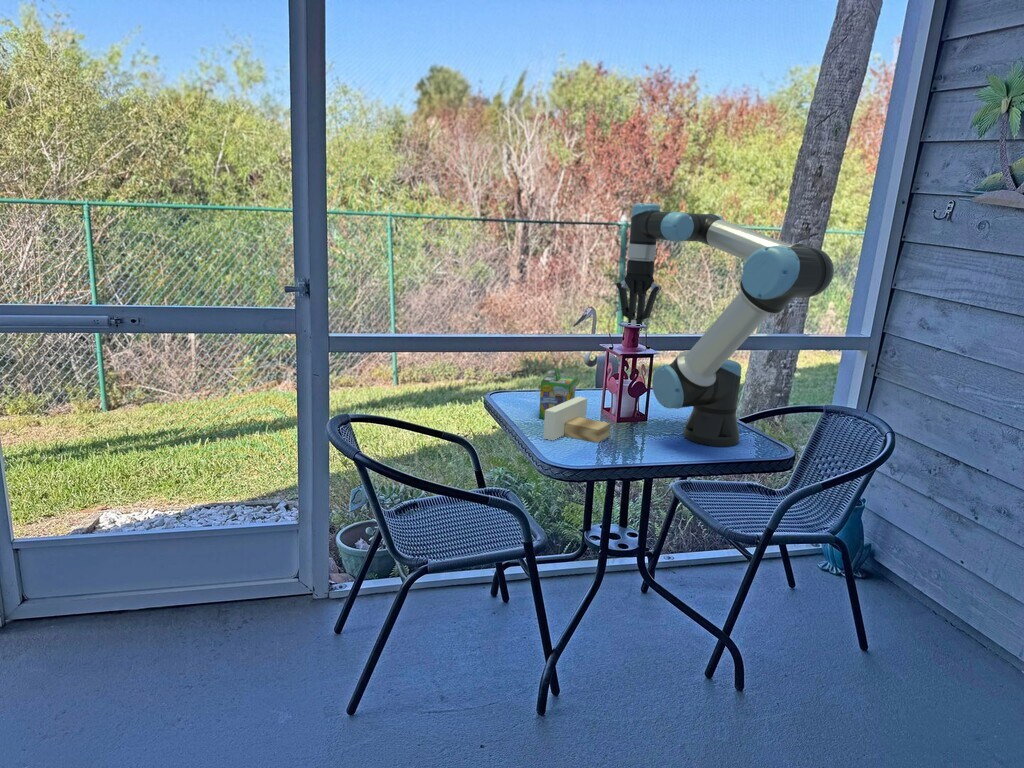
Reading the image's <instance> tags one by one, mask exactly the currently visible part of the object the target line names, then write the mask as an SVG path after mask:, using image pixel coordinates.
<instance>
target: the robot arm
mask: <svg viewBox="0 0 1024 768" xmlns="http://www.w3.org/2000/svg"><path fill="white" fill-rule="evenodd" d="M629 231H630V232H629V243H628V252H627V253H628V254H627V257H628V258H629V259H628V260H627V263H626V264H627V265H626V275H625V276H624V279H623V280H622V281H619V282H616V288H617V289H618V292H619V299H620V306H621V307H620V308H621V314H622V317H625V318H627V326H628V325H633V326H640V325H635V324H641V325H642V326H643V321H644V320H647V319H649V318H650V316H651V314H652V311H653V308H654V305H655V303H656V299H657V297H658V294H659V293H660V291H661V290H662V286H661V285H657V284H656V282H655V278H654V270H655V261H654V260H655V259H656V251H657V250H656V249H657V244H658V243H657V240H660V241H670V242H673V243H674V242H676V243H677V242H679V243H680V242H697V243H702V244H705V245H708V246H710V247H712V248H715V249H717V250H719V251H722V252H724V253H727V254H730V255H732V256H735V257H736V258H739V259H742V260H744V261H745V262H744V264H743V266H742V271H743V273H742V274H740V275H741V277H740V279H741V280H740V281H739V293H737V295H736V296H735V297H734V298H733V300H731V302H730V303H729V304H728V305H727V306H726V307H725V308H724V310H723V311H722V312H721V314H719V316H718V317H717V318H716V319H715V321H713V323H712V324H711V325H710V326H709V328H708V329H707V330H706V331H705V333H704V334H703V335H701V337H700V338H699V339H698V341H697V342H696V343H695V344H694V345H693V346H692V347H691V349H689V350H684V351H683V350H682V351H681V352H680V353H679V354H678V355H677V356H676V357H675V358H674V360H673V361H672V362H671V363H670V364H663V365H661V366H658V367H657V368H656V369H655V371H654V373H653V375H652V379H651V380H652V382H651V385H652V391H653V395H654V397H655V399H656V400H657V402H658V404H659V405H661V406H662V407H663V408H666V409H675V410H678V409H683V408H690V407H692V411H691V413H690V414H689V417H688V419H687V421H686V423H685V426H684V429H683V437H684V438H686V440H689V441H691V442H694V443H697V444H700V445H704V444H705V445H706V446H711V445H712V447H731V446H730V445H733V446H735V444H736V445H738V444H739V443H738V442H740V430H739V425H738V420H737V406H738V400H739V392H740V388H741V379H742V366H741V364H740V363H739V362H738V361H735V360H733V359H730V358H731V356H733V354H734V353H735V352H736V351H737V350H738V349H739V347H741V346H742V344H743V343H744V342H745V341H746V340H747V339H748V338H749V336H751V335H752V334H753V333H754V331H755V330H756V329H757V328H758V327H759V326H760V325H761V324H762V323H763V322H764V320H766V318H767V317H768V316H769V315H778V314H779V313H781V312H782V311H783V310H784V308H785V307H786V306H788V304H789V303H790V302H791V301H792V300H794V299H803V298H812V297H815V296H818V295H820V294H821V293H823V292H824V291H825V290H827V288H828V287H829V285H831V283H832V280H833V279H834V278H833V277H834V274H835V273H834V272H835V268H834V263H833V261H832V258H831V257H830V255H828V254H827V253H826V252H825V251H824V250H822V249H820V248H817V247H813V246H809V245H806V244H803V243H798V242H797V243H793V244H790V243H788V242H784V241H782V240H779V239H776V238H774V237H771V236H768V235H766V234H764V233H760V232H758V231H755V230H752V229H749V228H746V227H743V226H741V225H738V224H735V223H733V222H730V221H727V220H725V219H724V217H722V216H721V215H717V214H713V213H695V212H694V213H691V212H681V211H661V206H660V205H659V204H658V203H644V202H643V203H641V202H636V203H634V204H633V205H632V211H631V217H630V230H629ZM627 288H628V290H629V299H628V293H627ZM649 289H650V294H649V295H648V300H647V301H646V297H647V292H648V291H649ZM646 302H647V303H646ZM645 305H646V306H645ZM628 323H632V324H628ZM642 330H643V327H642V328H641V330H640V332H642ZM640 332H639V331H638V333H640ZM737 443H738V444H737Z"/></svg>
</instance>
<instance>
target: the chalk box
mask: <svg viewBox="0 0 1024 768" xmlns="http://www.w3.org/2000/svg"><path fill="white" fill-rule="evenodd" d="M559 368H560V367H559V366H557V367H556V368H554V374H555V376H553V375H547V376H545V377H544V378H542V380H541V381H540V395H539V397H540V398H539V414H538V415H539V417H538V419H540V420H541V419H543V420H545V410H547V409H549V408H552V407H554V406H556V405H559V404H561V403H564V402H566V401H568V400H571V399H573V398H576V385H577V384H576V383H577V379H576V378H572V377H571V378H570V377H564V376H561V375H560V374H561V373H560V369H559Z"/></svg>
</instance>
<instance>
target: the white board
mask: <svg viewBox="0 0 1024 768" xmlns="http://www.w3.org/2000/svg"><path fill="white" fill-rule="evenodd" d="M587 407H588V398H587V397H585V396H575V398H573V399H571V400H568V401H566V402H564V403H561V404H559V405H556V406H554V407H552V408H549V409H547V410H545V419H543V420H544V423H543V435H542V439H543V440H546V439H548V440H547V441H551V440H552V442H554V441H556V440H558V439H560V438H562V437H563V436H564V434H565V423H566V422H568V421H570V420H572V419H574V418H577V417H581V418H586V419H587ZM561 436H562V437H561ZM559 437H560V438H559ZM564 437H565V436H564ZM557 438H558V439H557ZM555 439H556V440H555ZM553 440H554V441H553Z"/></svg>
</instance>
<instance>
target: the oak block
mask: <svg viewBox="0 0 1024 768" xmlns="http://www.w3.org/2000/svg"><path fill="white" fill-rule="evenodd" d="M610 431H611V423H610V422H604V421H600V420H596V419H595V420H594V419H590V418H587V417H586V418H581V417H577V418H574V419H572V420H570V421H568V422H566V423H565V434H564V435H565V436H564V437H568V436H569V438H572V437H573V439H577V438H578V440H581V439H582V441H587V442H591V443H596V444H598V443H600V442H602V441H604V440H605V439H607V438H609V437H610V436H611V435H610V433H611V432H610Z"/></svg>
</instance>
